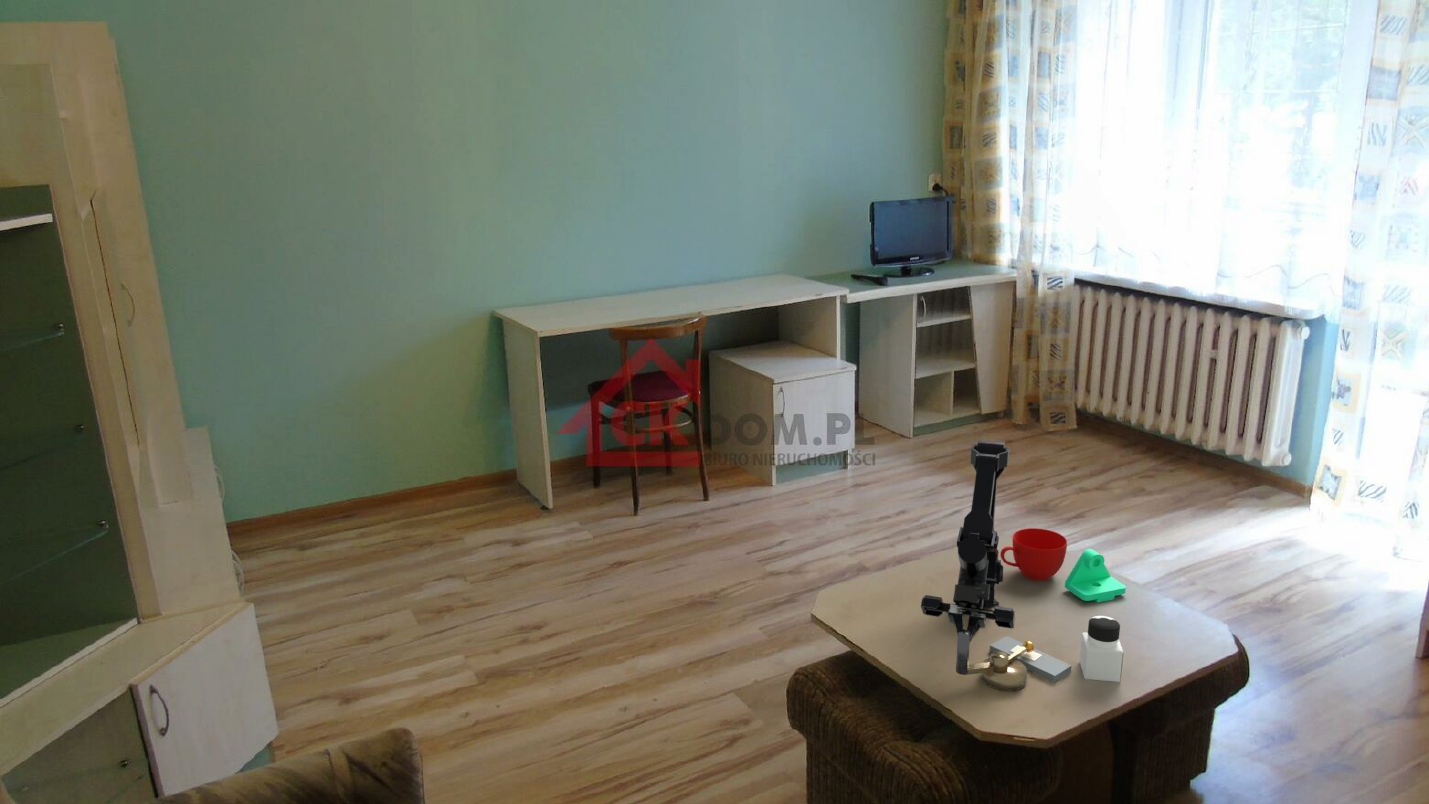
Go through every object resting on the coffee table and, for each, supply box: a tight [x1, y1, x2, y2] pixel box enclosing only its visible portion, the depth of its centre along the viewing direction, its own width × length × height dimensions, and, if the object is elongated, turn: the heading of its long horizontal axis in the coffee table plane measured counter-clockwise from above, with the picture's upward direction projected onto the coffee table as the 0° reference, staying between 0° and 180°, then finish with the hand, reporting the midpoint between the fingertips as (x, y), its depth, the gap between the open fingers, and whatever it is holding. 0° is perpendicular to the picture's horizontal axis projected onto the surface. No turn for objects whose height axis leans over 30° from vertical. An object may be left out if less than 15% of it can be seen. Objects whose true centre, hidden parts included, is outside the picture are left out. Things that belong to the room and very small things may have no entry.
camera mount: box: [1064, 548, 1127, 603], centre depth 239 cm, size 12×8×10 cm, turn 108°
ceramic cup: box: [999, 527, 1068, 582], centre depth 248 cm, size 13×17×10 cm
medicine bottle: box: [1079, 615, 1125, 683], centre depth 206 cm, size 7×7×12 cm
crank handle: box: [955, 628, 1035, 692], centre depth 205 cm, size 20×12×12 cm, turn 99°
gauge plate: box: [989, 635, 1072, 683], centre depth 212 cm, size 16×6×2 cm, turn 39°
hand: (962, 651), depth 204 cm, fingers closed
